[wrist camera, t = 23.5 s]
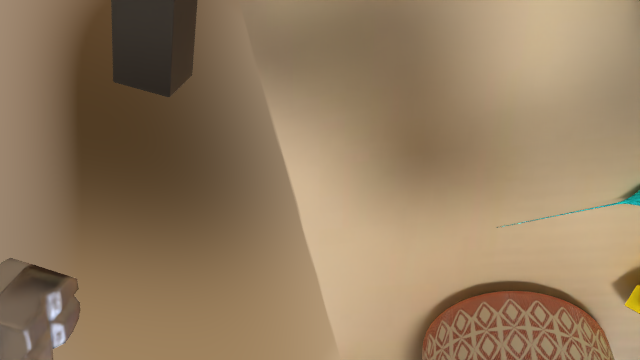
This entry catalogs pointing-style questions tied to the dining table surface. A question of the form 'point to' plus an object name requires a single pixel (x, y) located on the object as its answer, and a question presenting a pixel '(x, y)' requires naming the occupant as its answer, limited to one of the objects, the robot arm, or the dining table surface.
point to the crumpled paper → (634, 300)
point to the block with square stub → (153, 43)
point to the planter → (515, 330)
